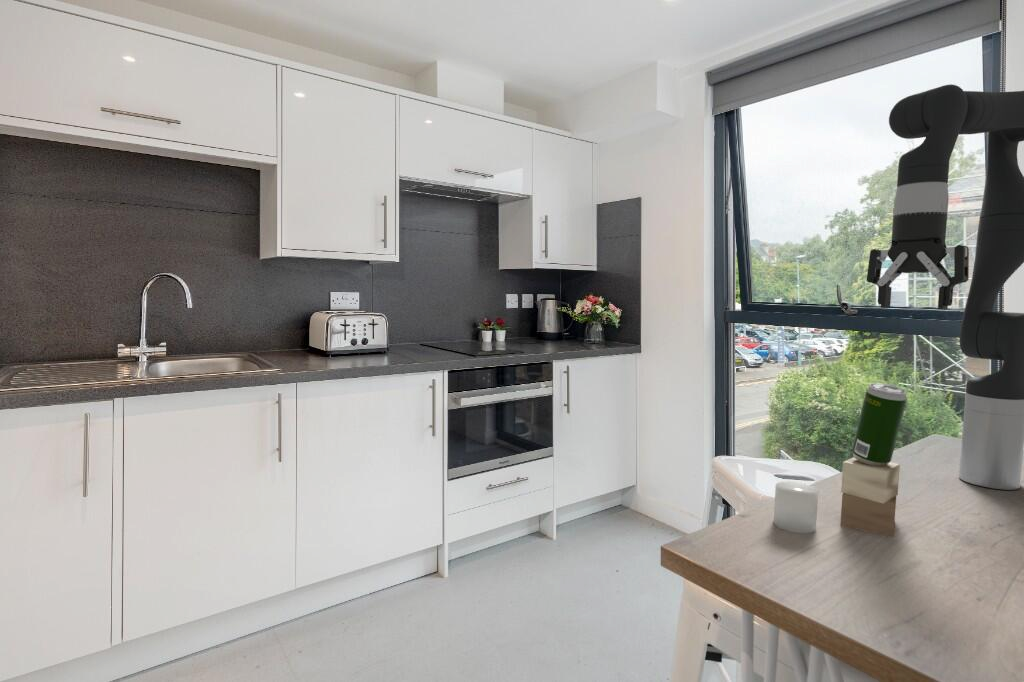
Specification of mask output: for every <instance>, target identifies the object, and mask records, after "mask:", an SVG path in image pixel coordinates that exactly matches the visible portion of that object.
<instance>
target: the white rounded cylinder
mask: <svg viewBox="0 0 1024 682" xmlns="http://www.w3.org/2000/svg"><path fill="white" fill-rule="evenodd" d="M774 493H775V494H774V507H773V508H774V509H773V523H774V526H776V527H778V528H779V529H781V530H783V531H786V532H790V533H793V534H794V533H795V534H811V533H812V534H813V533H814V532H816V530H817V517H818V503H819V490H818V488H816V487H815V486H812V485H809V484H806V483H802V482H798V481H780V482H777V483H776V484H775V490H774Z"/></svg>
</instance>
